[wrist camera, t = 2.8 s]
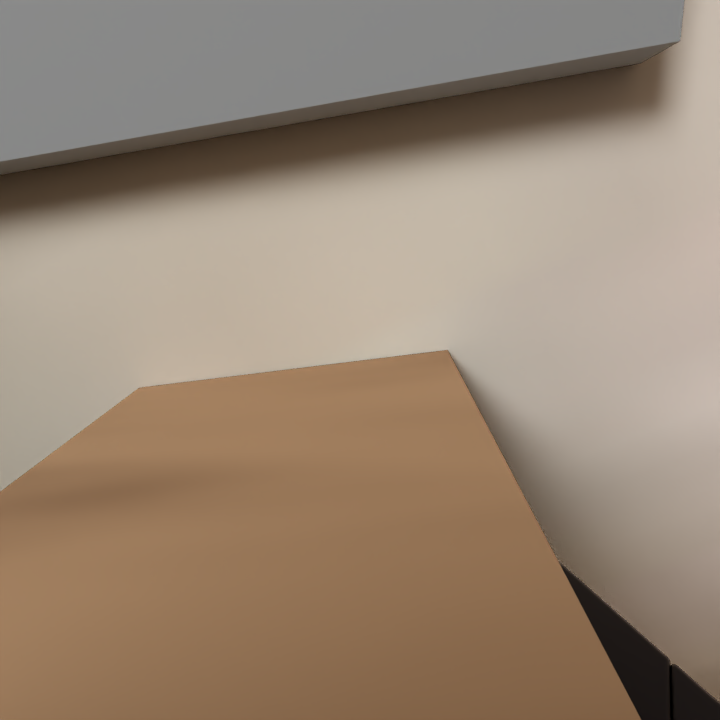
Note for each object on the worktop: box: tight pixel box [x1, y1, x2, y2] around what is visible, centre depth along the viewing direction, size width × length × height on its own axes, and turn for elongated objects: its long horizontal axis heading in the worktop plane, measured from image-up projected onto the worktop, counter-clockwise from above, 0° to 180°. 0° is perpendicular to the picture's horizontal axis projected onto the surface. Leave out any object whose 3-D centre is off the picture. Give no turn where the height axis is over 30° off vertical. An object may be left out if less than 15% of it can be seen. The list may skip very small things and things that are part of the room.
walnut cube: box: [0, 350, 641, 720], centre depth 6 cm, size 6×6×6 cm
